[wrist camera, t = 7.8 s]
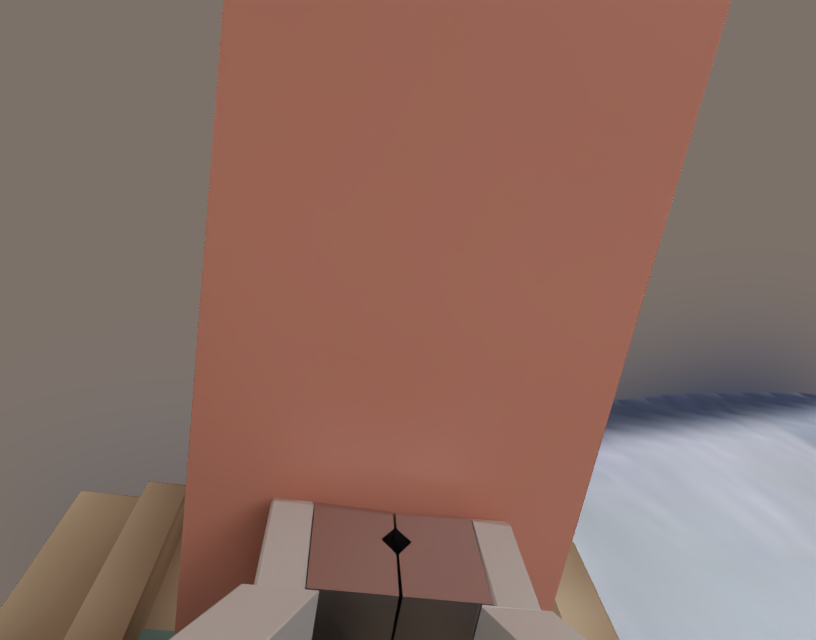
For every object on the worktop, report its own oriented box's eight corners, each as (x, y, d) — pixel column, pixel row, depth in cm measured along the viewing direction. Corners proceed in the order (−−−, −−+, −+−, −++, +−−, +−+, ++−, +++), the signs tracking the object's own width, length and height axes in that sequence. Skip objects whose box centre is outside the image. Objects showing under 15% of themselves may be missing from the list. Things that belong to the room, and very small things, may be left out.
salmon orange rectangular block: (466, 642, 15) (619, 32, 11) (515, 894, 10) (810, -8, 6) (193, 619, 14) (251, -42, 10) (112, 879, 10) (161, -148, 6)
